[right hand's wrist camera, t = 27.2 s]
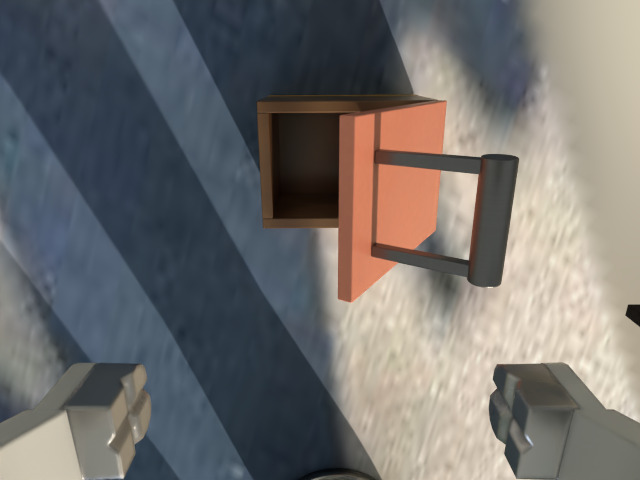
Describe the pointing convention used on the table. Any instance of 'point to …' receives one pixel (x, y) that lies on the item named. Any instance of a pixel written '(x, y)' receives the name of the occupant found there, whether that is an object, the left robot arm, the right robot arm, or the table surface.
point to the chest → (307, 154)
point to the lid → (412, 198)
